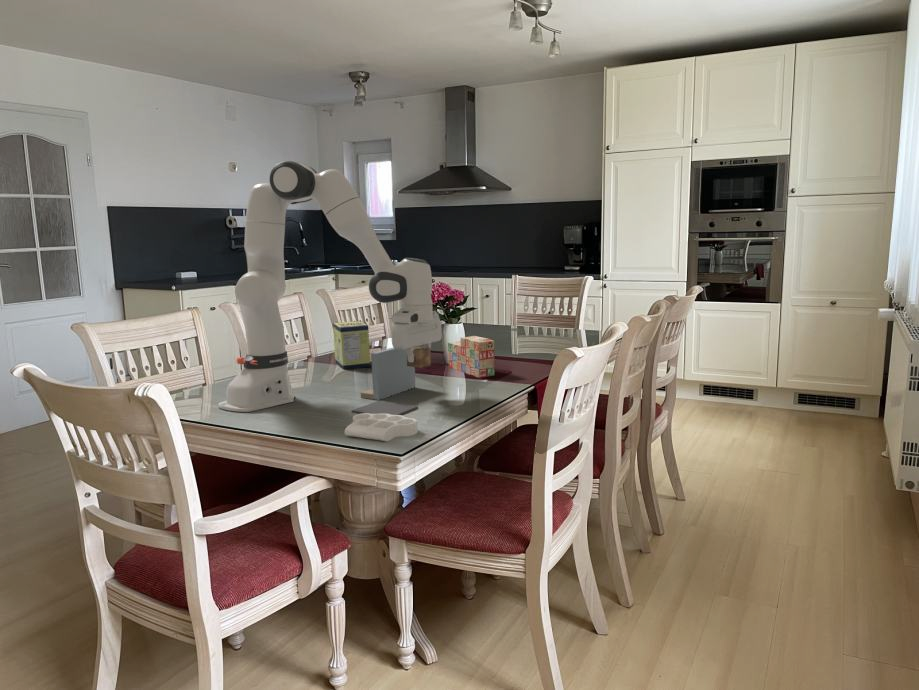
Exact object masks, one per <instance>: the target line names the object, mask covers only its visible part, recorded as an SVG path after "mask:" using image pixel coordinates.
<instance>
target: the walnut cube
mask: <svg viewBox="0 0 919 690" xmlns="http://www.w3.org/2000/svg"><path fill="white" fill-rule="evenodd" d="M413 354H414V356H416V361H415V362H408V356H407V366H410V367H415V368H418V369H421V368H424V367H425V368H426V367H428V366H431V365H432V363H431V361H432V360H431V348H424V347H423V346H422V347H421V346H416V347H414V351H413Z"/></svg>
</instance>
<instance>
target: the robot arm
mask: <svg viewBox="0 0 919 690" xmlns="http://www.w3.org/2000/svg"><path fill="white" fill-rule="evenodd" d="M247 200H248V201H247V205H246V212H245V225H244V226H245V227H244V228H245V229H244V243H243V244H244V247H243V248H244V251H245V257H246V264H247V272H246V273H244V274H243V275H242V276H241V277H240V278H239V280H238V281H237V282H236V285H235V287H234V294H235V298H236V300H237V302H238V303H239V304H238V305H239V309H240V313H241V317H242V320H243V324H244V328H245V329H244V331H245V339H246V340H245V341H246V353H247V354H246V355H245V358H244V357H240V356H238V357H236V359H235V362H236V364H237V365H243V368H242V369H241V371H240V372H239V373H238V374H236V376H235V377H234V378H233V379H232V380H231V381H230V382H229V384H227V387H226V395H225V399H226V400H224V401H221V402H218V408H219V409H222V410H225V411H229V412H237V413H238V412H239V413H240V412H241V413H242V412H243V413H246V412H247V413H248V412H255V411H258V410H263V409H267V408H271V407H275V406H279V405H285V404H290V403H293V402H294V401H295V399H294V398H295V393H294V391H293V389H292V388H293V387H292V384H291V380H290V375H289V370H288V363H289V356H288V352H287V350H286V341H285V339H286V338H285V327H284V323H283V322H282V317H281V313H280V309H279V304H278V302H279V301H280V300H281V299H282V298H283V296H284V294H285V292H286V273H285V272H286V271H285V270H286V267H285V257H284V256H285V255H284V254H285V253H284V249H285V248H284V246H285V245H284V244H285V232H286V231H285V230H286V215H287V214H286V213H287V209H288V207H289V206H290V205H297V204H301V203H302V204H303V203H306V202H307V203H308V202H309V201H311V200H314V201H315V202H316V204H318V205H319V207H320V209H321V210H322V212H323V214H324V216H325V217H326V219H327V221H328V223H329V224H330V226H331V227H332V228H333V230H334V231H335V232H336V233H337V234H338V235H339V236H340V237H342V238H343V239H346V240H347V241H349V242H351V243H352V244H354V245H355V246H356V247H357V248H358V249H359V250H360V251H361V253H362V254H363V255H364V258H365V259H366V260H367V263H368V264H369V265H370V267H371V269H372V270H373V273H374V275H372V277H371V278H370V280H369V284H368V291H369V293H370V295H371V297H372V298H373V299H374V300H376V301H377V302H379V303H382V304H389V303H393V302H397V301H401V304H402V306H401V308H400V309H398V310H397V311H396V312H394V313H393V314H392V315H391V318H390V319H391V320H390V321H391V323H393V324H392V325H391V345H392V348H393V347H394V349H399V350H404V349H405V352H406V354H407V356H408V362H415V361H416V356H414V354H413V351H414V348H415V347H421V346H422V347H423V348H430V349H431V348H432V343H435V342H440V341H441V340H442V338H443V329H442V321H441V319H440V315H439V313H438V312H437V311H436V310H433V309H434V308H433V299H432V291H433V279H432V270H431V269H432V268H431V265H430V264H429V263H428V261H426V260H425V259H421V258H416V257H405V258H403V259H402V260H401V261H400V262H398V263H396V264H395V263H394V261H393V260H392V259H391V258H390V255H389V254H388V252H387V251H386V249H385V247H384V245H383V244H382V243H381V241H380V239H379V237H378V235H377V234H376V232H375V229H374V226H373V225H372V222H371V220H370V217H369V215H368V213H367V211H366V208H365V206H364V204H363V201H361V198H360V197H359V194H358V193H357V191H356V190H355V188H354V187H353V185H352V184H351V183H350V181H349V180H348V179H347V177H346V176H345V175H344V174H343V173H342V171H340V170H338V169H336V168H335V169H334V168H330V169H325V170H324V171H321V172H319V173H318V172H317V170H315V169H314V168H313V167H311V166H309V165H307V164H306V163H302V162H299V161H293V160H284V161H280V162H279V163H276V164H275V166H274V167H273V168H272V169H271V171H270V173H269V183H268V182H261V183H258V184H255V185H253V187H251V190H250V193H249V195H248V199H247Z"/></svg>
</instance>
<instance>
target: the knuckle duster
mask: <svg viewBox="0 0 919 690" xmlns="http://www.w3.org/2000/svg"><path fill="white" fill-rule="evenodd" d="M417 433H419V432H418V420H417V419H416V418H410V417H406V416H405V415H391V414H383V413H381V414H370V413H362V414H358V413H356V414H355V415H353V416H352V422H351V423H350V424H349V425H347V426H346V427H345V429H344V435H345V436H347V437H349V438H350V437H352V438H353V437H355V438H360V439H366V440H375V441H380V442H389V441H391V440H393V439H395V438H398V437H411V436H414V435H416V434H417Z"/></svg>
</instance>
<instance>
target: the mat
mask: <svg viewBox="0 0 919 690" xmlns="http://www.w3.org/2000/svg"><path fill="white" fill-rule="evenodd" d="M417 408H418V409H419V405H414V404H413V405H412V404H405V403H400V402H394V401H386V400H385V401H384V400H376V401H374V402H371V403H368V404H365V405H363V406H360V407H357V408H355V409H352V410H351V413H352V414H362V413H370V414H381V413H383V414H391V415H401V416H403V415H405V414H407V413H410V412H412V411H414V410H418V409H417ZM404 413H405V414H404Z"/></svg>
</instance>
